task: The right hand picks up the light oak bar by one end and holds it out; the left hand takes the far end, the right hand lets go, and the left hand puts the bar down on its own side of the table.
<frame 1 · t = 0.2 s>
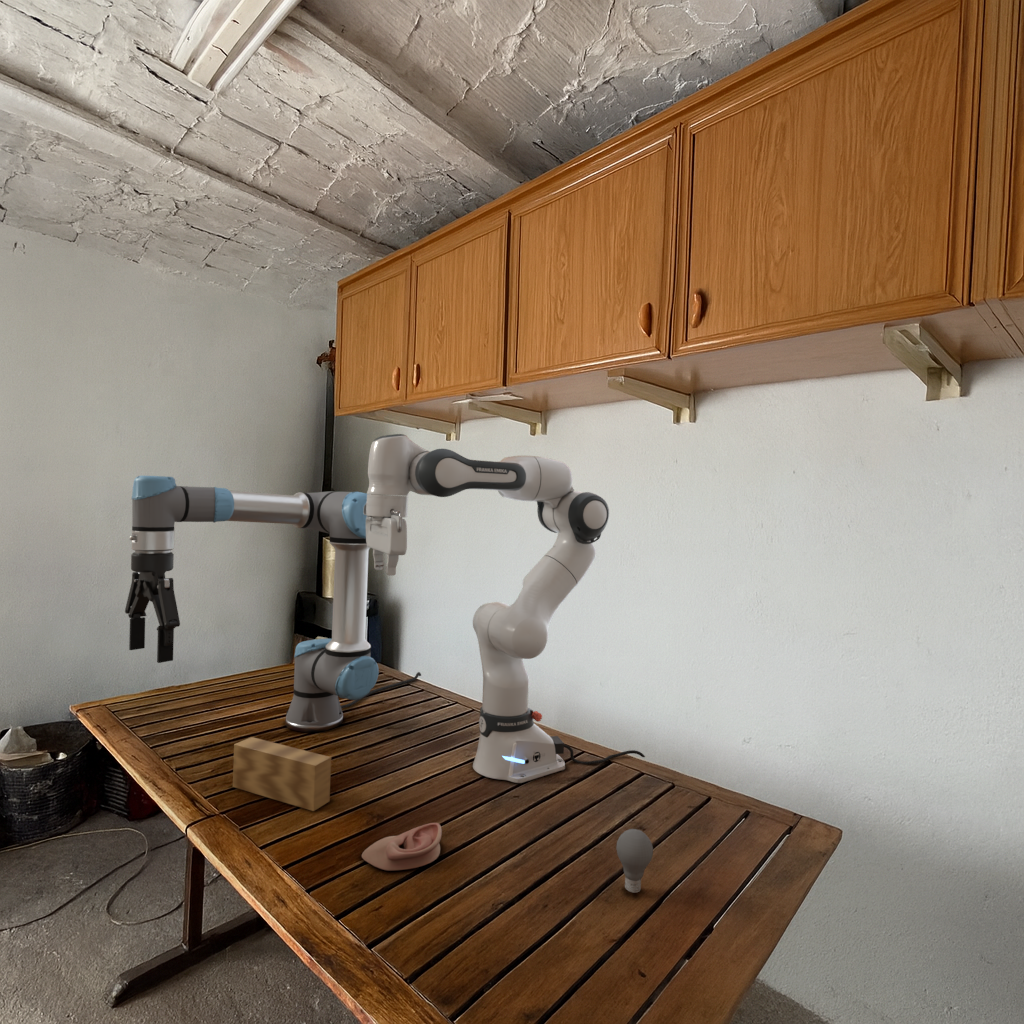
left hand: (150, 655, 129), 29 cm above the table, tool pointing down, fingers open, 13 cm apart
right hand: (384, 572, 137), 48 cm above the table, tool pointing down, fingers open, 8 cm apart
light bulb: (632, 891, 106), on the table
fossil: (331, 680, 216), on the table
bar: (280, 794, 134), on the table
anatomical model: (402, 854, 114), on the table
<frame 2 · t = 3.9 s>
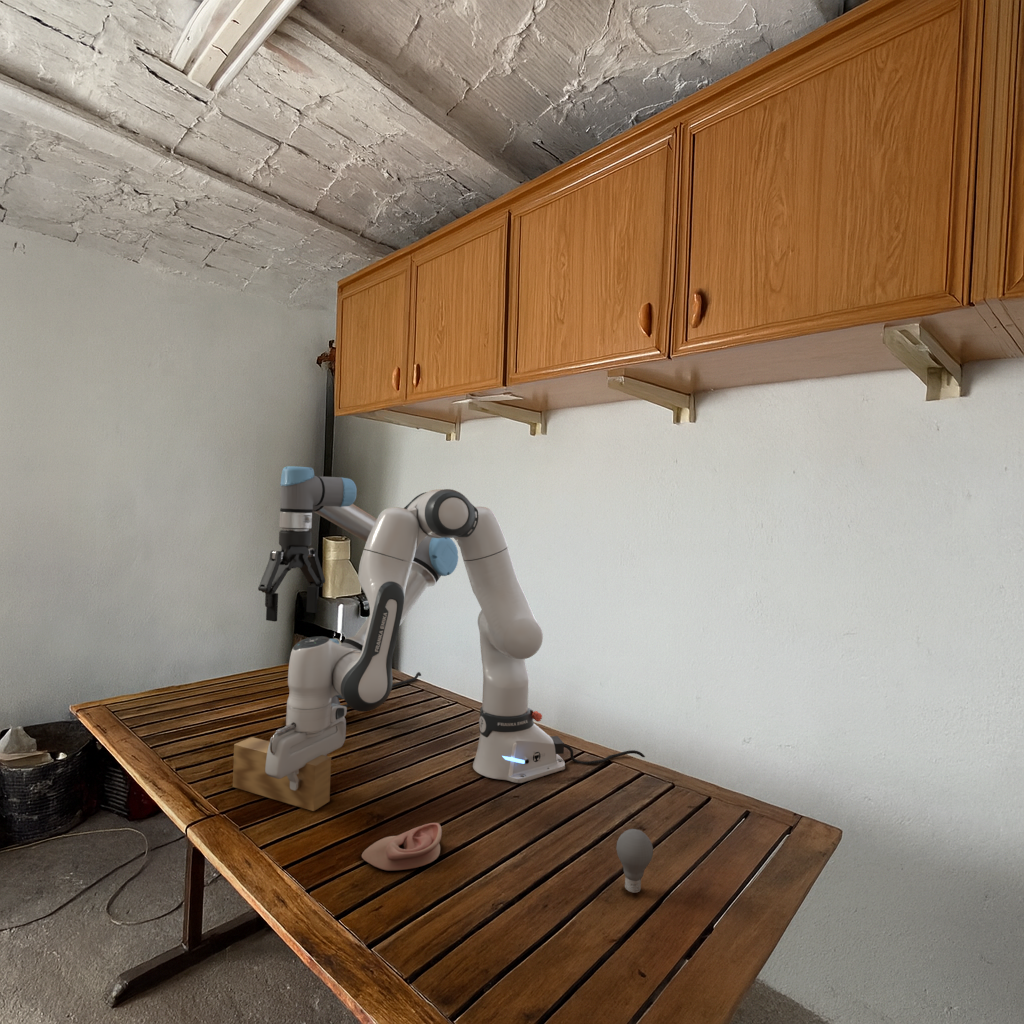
left hand: (292, 616, 155), 34 cm above the table, tool pointing down, fingers open, 13 cm apart
right hand: (306, 782, 131), 4 cm above the table, tool pointing down, fingers closed on bar, 5 cm apart
bar: (280, 794, 134), on the table, touching right hand
everything else where it was.
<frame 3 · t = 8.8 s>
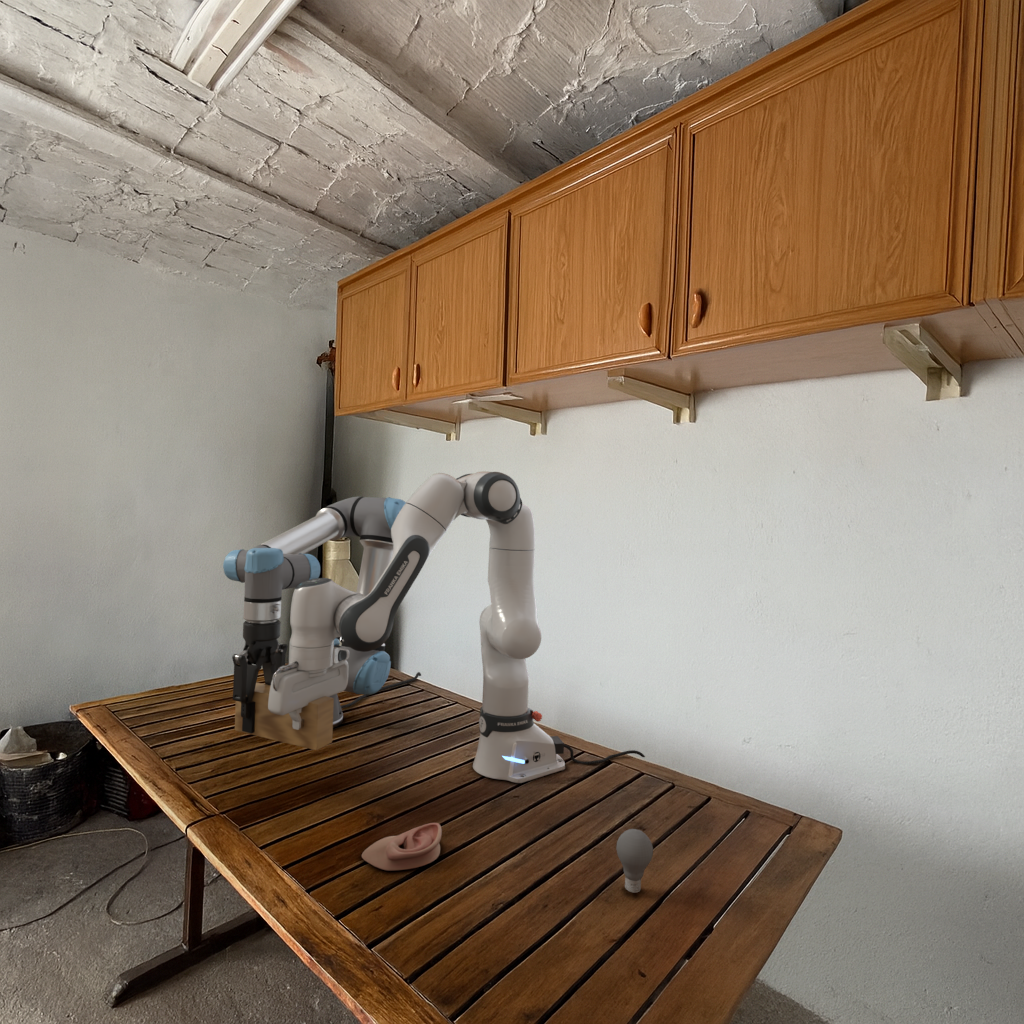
left hand: (258, 727, 137), 13 cm above the table, tool pointing down, fingers closed on bar, 5 cm apart
right hand: (309, 723, 131), 16 cm above the table, tool pointing down, fingers closed on bar, 5 cm apart
bar: (282, 736, 134), point 12 cm above the table, touching left hand, right hand
everything else where it was.
when the right hand's fingers open (16 cm above the table, at t = 9.6 s): bar stays where it is, held by the left hand.
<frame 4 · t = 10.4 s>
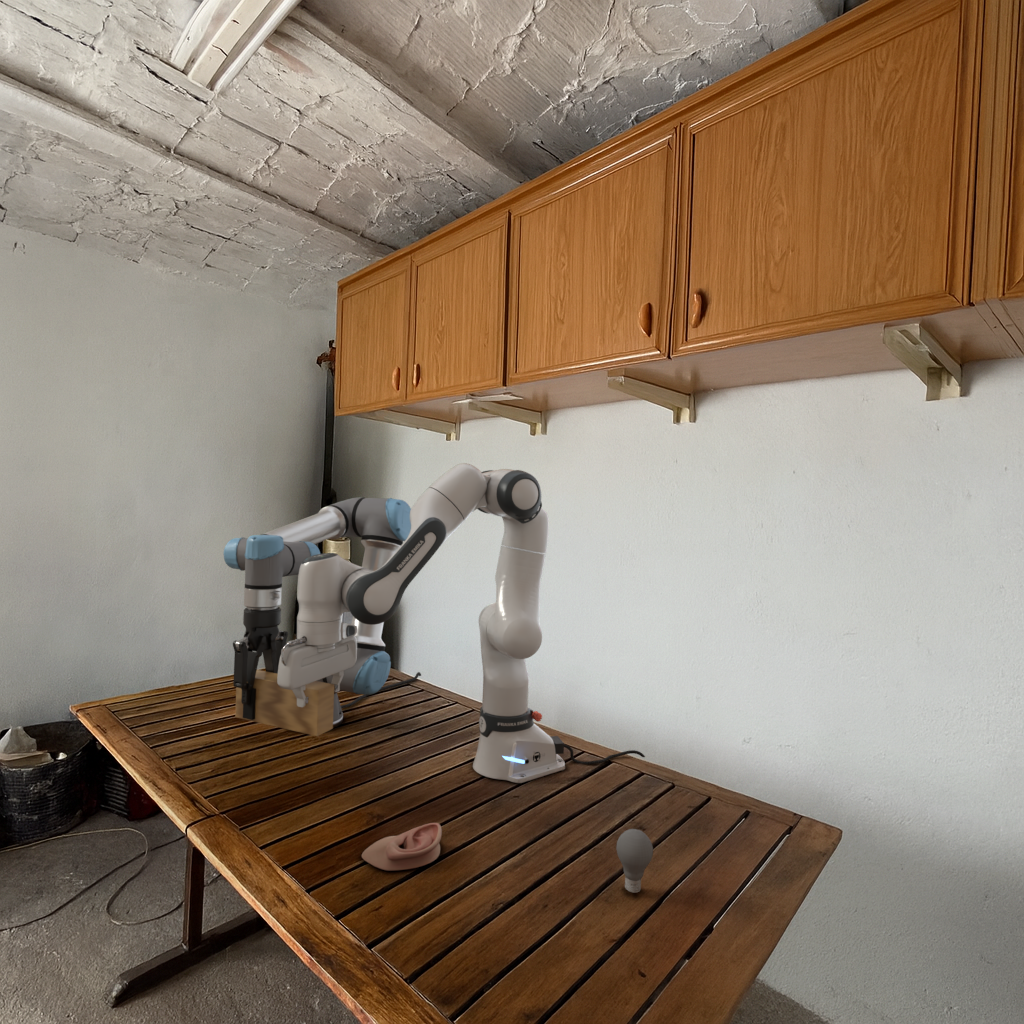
left hand: (259, 714, 137), 16 cm above the table, tool pointing down, fingers closed on bar, 5 cm apart
right hand: (318, 699, 131), 22 cm above the table, tool pointing down, fingers open, 8 cm apart
bar: (283, 722, 134), point 15 cm above the table, touching left hand
everything else where it was.
when the left hand's fingers open (2 cm above the table, at t = 18.9 s): bar drops 1 cm, on the table.
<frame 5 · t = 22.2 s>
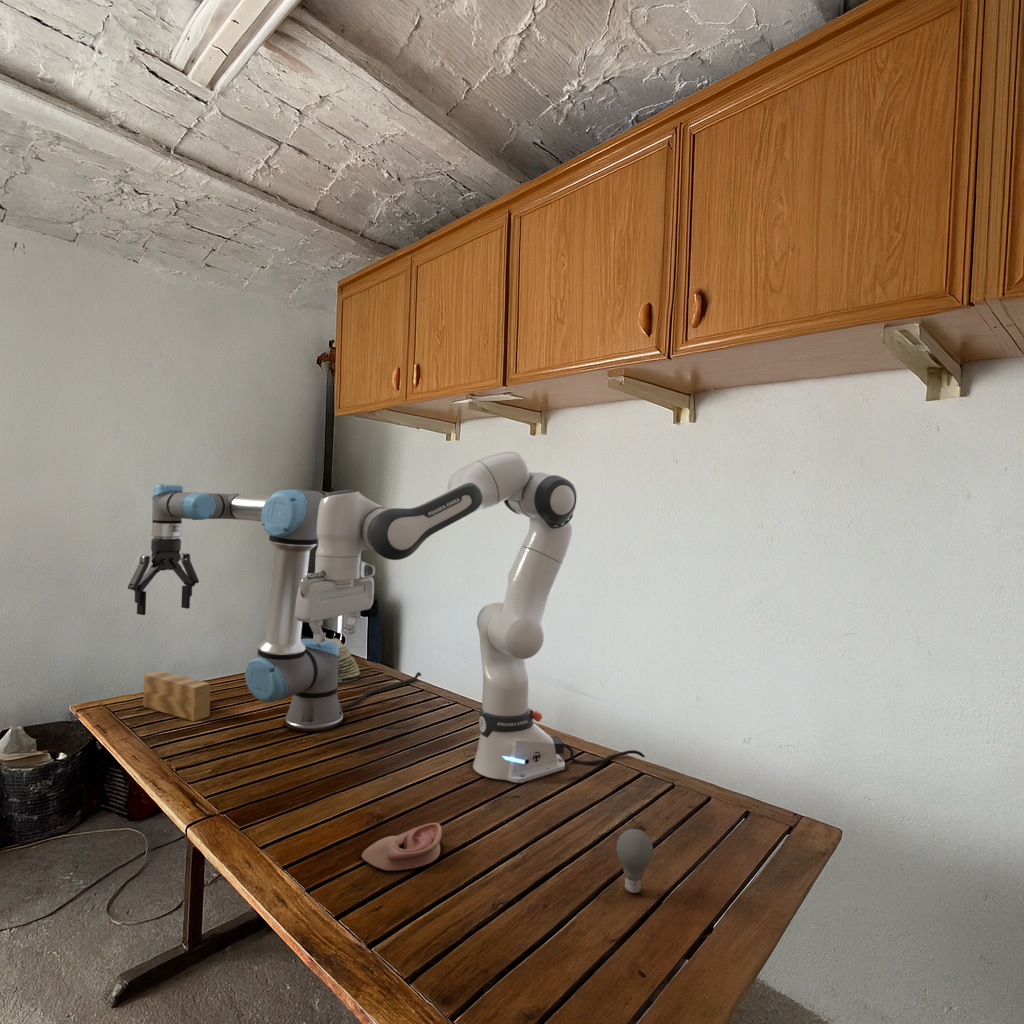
left hand: (164, 611, 183), 28 cm above the table, tool pointing down, fingers open, 13 cm apart
right hand: (335, 637, 128), 35 cm above the table, tool pointing down, fingers open, 8 cm apart
bar: (175, 711, 181), on the table
everything else where it was.
at the end: bar inside the target area (6.6 cm from its centre), on the table; the left hand is holding nothing; the right hand is holding nothing; bar at rest at the end (0.0 cm/s) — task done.
